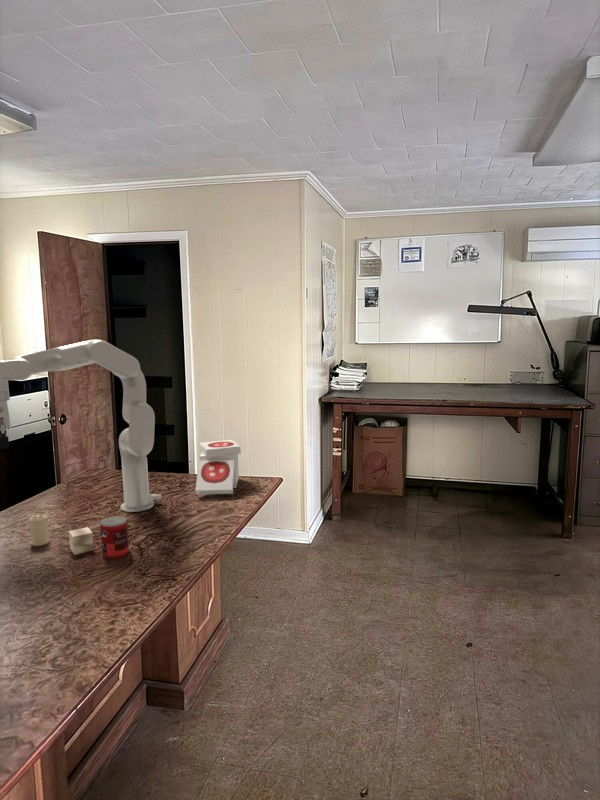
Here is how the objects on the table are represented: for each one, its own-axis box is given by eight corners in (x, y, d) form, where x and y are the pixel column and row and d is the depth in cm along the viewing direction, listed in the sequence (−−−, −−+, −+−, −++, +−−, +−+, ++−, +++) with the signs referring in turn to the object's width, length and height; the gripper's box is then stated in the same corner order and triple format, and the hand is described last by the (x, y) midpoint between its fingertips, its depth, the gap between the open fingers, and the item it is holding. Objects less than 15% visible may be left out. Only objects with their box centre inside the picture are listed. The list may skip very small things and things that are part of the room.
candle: (53, 540, 194) (50, 512, 192) (41, 546, 189) (38, 517, 187) (40, 538, 196) (37, 510, 194) (27, 545, 191) (25, 516, 189)
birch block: (89, 544, 190) (87, 527, 189) (93, 550, 185) (92, 532, 184) (70, 548, 187) (68, 531, 186) (74, 555, 182) (72, 536, 181)
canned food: (105, 549, 186) (103, 516, 184) (131, 548, 186) (128, 515, 185) (99, 559, 178) (97, 525, 177) (126, 557, 179) (123, 524, 177)
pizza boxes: (191, 499, 234) (189, 456, 231) (202, 478, 264) (200, 440, 261) (238, 498, 234) (236, 455, 231) (244, 477, 264) (243, 439, 261)
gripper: (12, 398, 189) (17, 449, 192) (5, 392, 204) (10, 440, 206) (-13, 400, 185) (-8, 452, 188) (-19, 394, 199) (-14, 443, 202)
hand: (2, 445), depth 197 cm, fingers open, 9 cm apart
